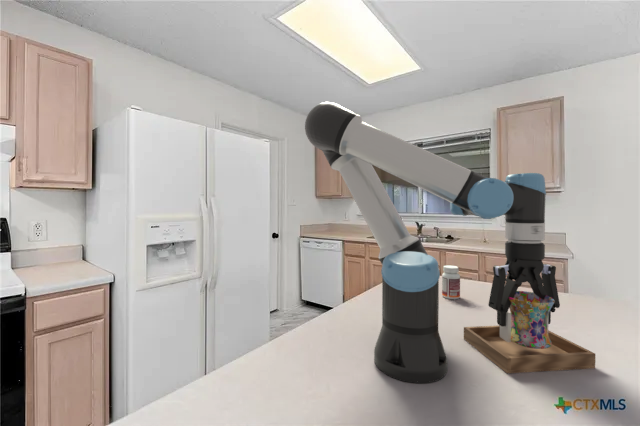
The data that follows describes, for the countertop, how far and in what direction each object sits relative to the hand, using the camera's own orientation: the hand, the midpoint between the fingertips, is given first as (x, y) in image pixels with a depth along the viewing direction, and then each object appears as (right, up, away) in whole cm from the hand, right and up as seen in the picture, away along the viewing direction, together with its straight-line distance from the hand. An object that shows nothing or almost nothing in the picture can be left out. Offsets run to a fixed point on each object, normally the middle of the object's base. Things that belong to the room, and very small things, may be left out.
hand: (523, 338), depth 69 cm
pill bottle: (+1, -2, +41) cm, 41 cm away
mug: (0, -1, 0) cm, 1 cm away
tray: (0, -3, 0) cm, 3 cm away
